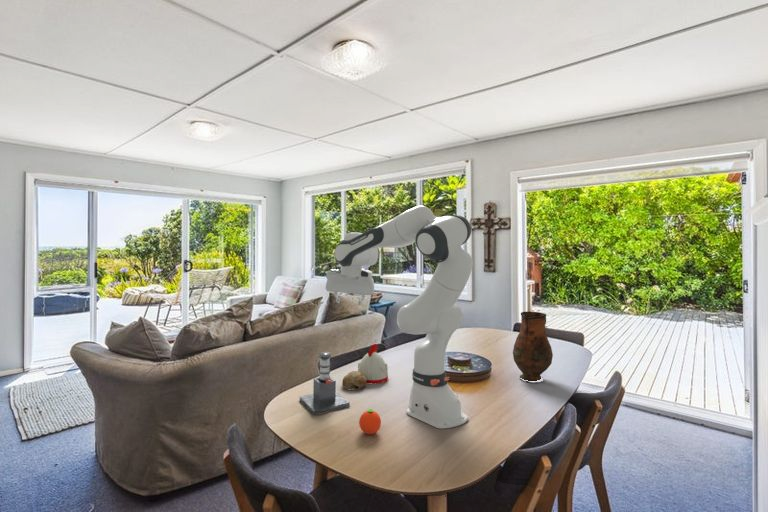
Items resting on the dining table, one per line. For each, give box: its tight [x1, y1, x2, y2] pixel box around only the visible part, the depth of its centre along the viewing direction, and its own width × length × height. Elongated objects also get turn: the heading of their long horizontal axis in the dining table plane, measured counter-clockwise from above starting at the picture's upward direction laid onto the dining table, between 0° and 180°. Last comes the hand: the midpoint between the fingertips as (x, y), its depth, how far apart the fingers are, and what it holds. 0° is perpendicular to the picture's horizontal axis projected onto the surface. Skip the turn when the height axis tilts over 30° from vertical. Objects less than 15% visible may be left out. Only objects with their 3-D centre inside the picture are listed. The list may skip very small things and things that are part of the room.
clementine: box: [358, 408, 382, 435], centre depth 121 cm, size 8×7×7 cm
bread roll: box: [341, 370, 367, 391], centre depth 159 cm, size 10×10×8 cm
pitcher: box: [512, 311, 554, 381], centre depth 172 cm, size 17×21×30 cm
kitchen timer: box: [356, 343, 389, 385], centre depth 169 cm, size 14×14×15 cm
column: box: [318, 351, 332, 383], centre depth 141 cm, size 5×5×17 cm
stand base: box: [299, 376, 351, 416], centre depth 142 cm, size 14×14×10 cm
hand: (348, 303), depth 159 cm, fingers open, 8 cm apart
